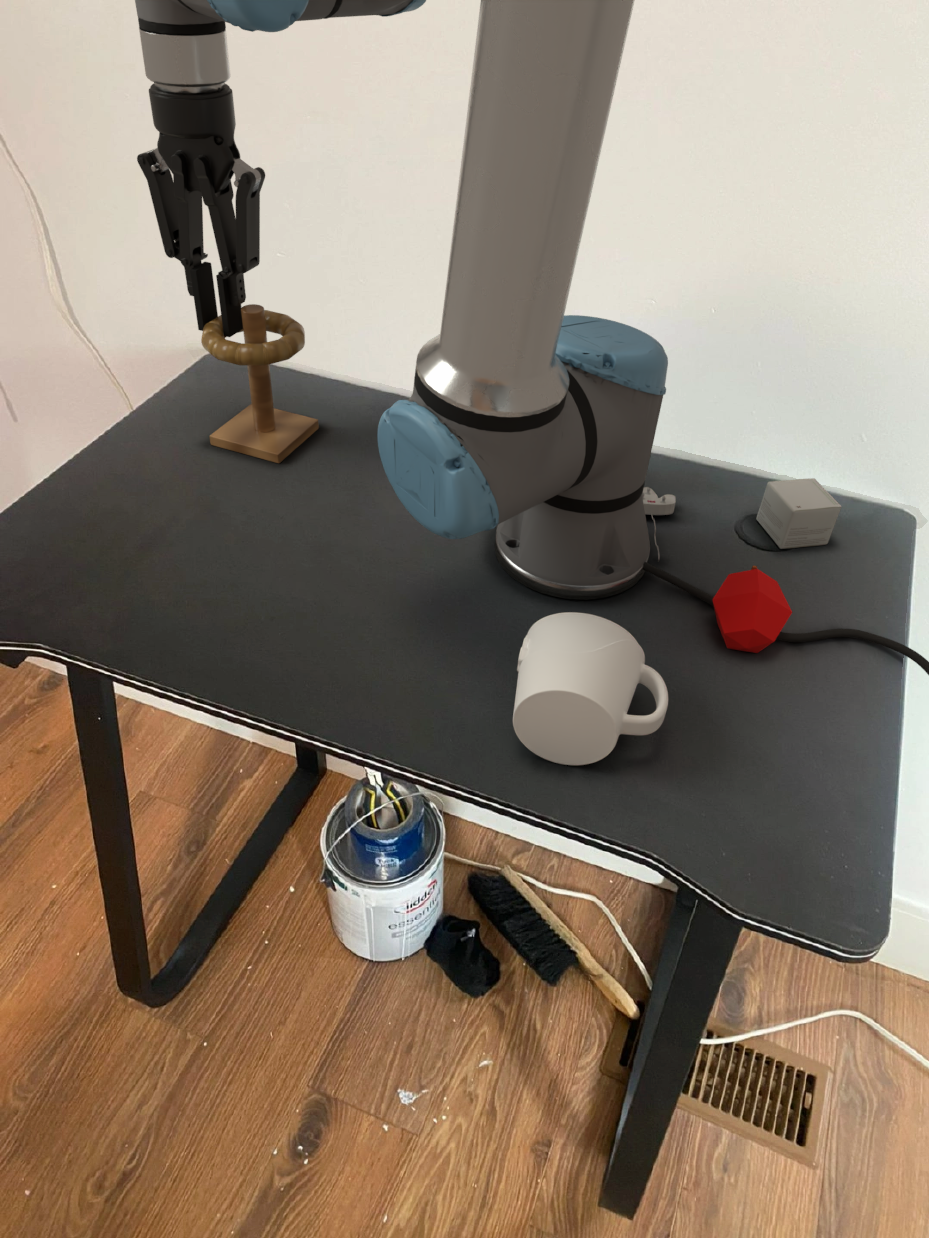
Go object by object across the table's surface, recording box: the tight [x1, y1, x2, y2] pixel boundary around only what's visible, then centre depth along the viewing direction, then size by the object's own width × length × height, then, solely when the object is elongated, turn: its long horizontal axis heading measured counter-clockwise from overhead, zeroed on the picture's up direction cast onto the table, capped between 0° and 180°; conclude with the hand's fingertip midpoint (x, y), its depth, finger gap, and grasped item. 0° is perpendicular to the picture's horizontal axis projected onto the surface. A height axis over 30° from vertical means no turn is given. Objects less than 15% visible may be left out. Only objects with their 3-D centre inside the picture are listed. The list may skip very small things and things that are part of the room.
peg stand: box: [209, 303, 320, 464], centre depth 102 cm, size 9×9×15 cm
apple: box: [712, 565, 793, 654], centre depth 82 cm, size 7×7×8 cm
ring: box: [200, 309, 306, 367], centre depth 99 cm, size 11×11×2 cm
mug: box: [512, 611, 669, 766], centre depth 72 cm, size 12×9×8 cm
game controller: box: [642, 486, 677, 562], centre depth 96 cm, size 6×12×3 cm, turn 15°
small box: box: [755, 477, 843, 550], centre depth 95 cm, size 6×6×5 cm
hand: (221, 328), depth 100 cm, fingers closed on ring, 2 cm apart
